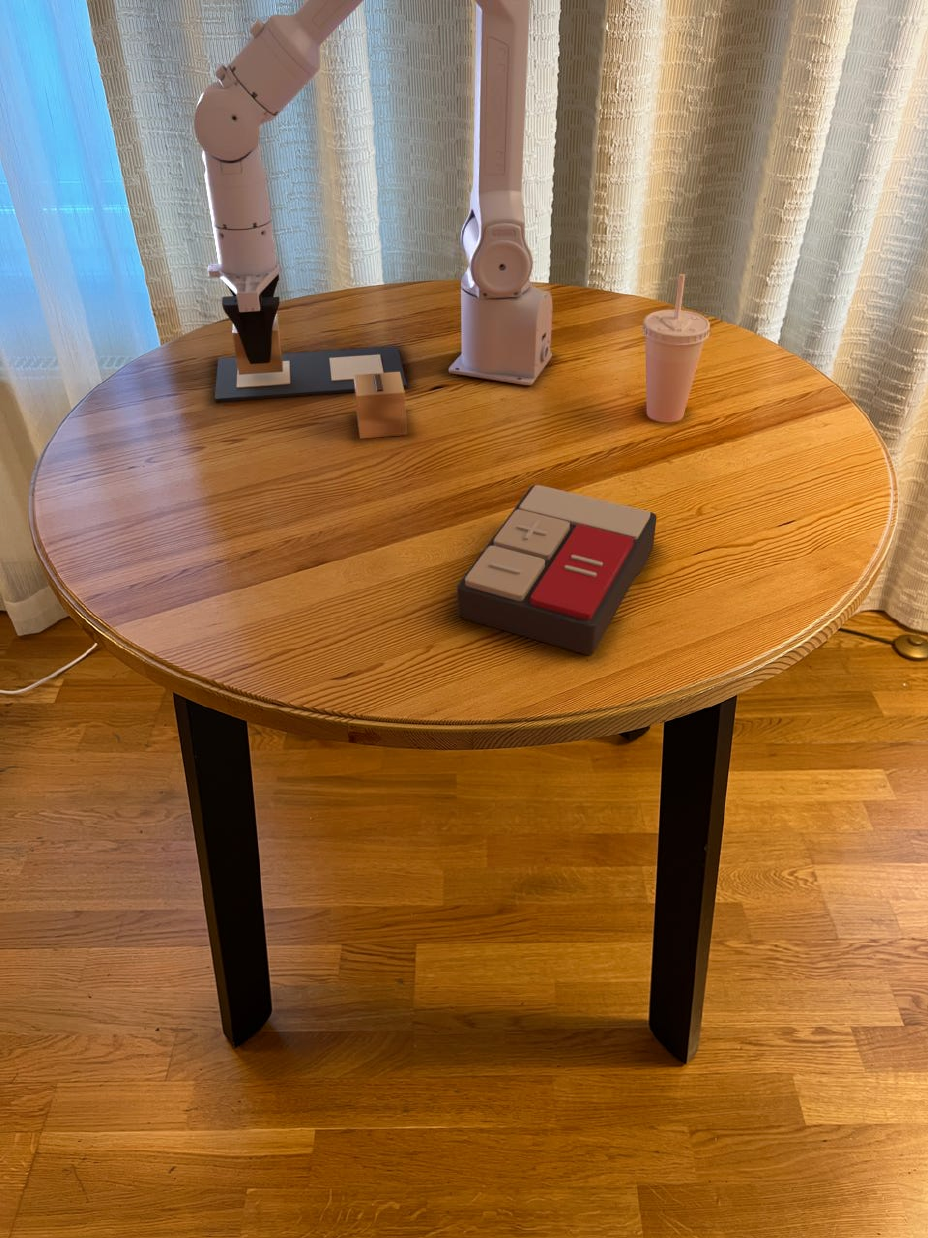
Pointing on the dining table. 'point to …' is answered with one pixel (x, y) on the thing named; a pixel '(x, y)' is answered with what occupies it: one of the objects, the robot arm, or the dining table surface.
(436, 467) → the dining table surface
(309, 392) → the word mat
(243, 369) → the letter block h
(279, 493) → the dining table surface
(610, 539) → the calculator
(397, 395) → the letter block i
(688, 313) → the smoothie
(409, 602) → the dining table surface
